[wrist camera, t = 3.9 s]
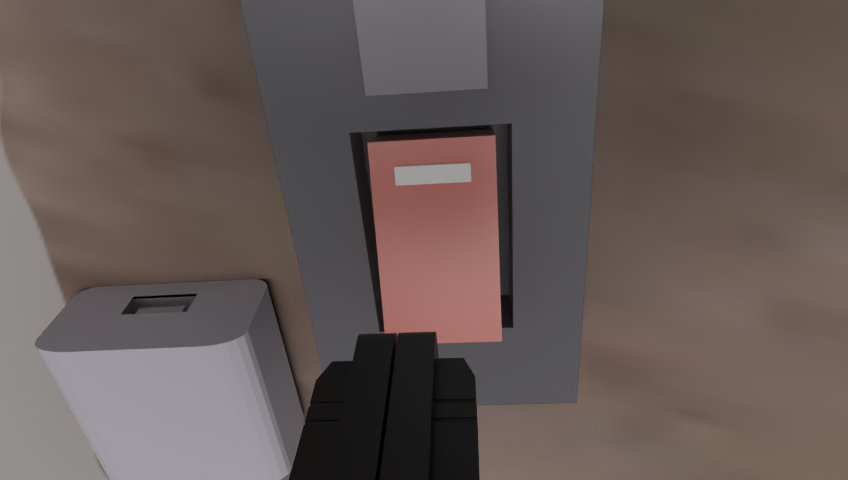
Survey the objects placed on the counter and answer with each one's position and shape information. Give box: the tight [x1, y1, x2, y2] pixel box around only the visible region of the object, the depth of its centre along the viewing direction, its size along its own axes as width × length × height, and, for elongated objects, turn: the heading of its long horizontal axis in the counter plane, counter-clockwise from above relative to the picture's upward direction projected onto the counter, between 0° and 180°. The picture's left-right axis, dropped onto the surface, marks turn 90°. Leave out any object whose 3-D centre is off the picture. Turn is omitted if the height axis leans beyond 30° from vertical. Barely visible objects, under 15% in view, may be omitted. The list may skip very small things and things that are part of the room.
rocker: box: [367, 129, 502, 343], centre depth 21 cm, size 7×4×2 cm, turn 5°
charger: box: [35, 279, 304, 480], centre depth 31 cm, size 5×9×15 cm
